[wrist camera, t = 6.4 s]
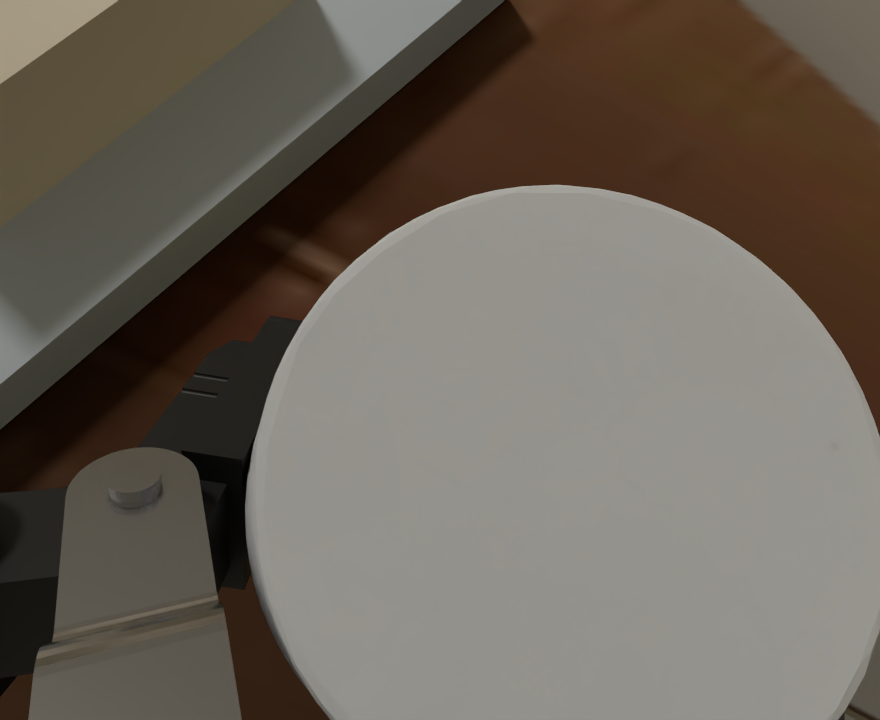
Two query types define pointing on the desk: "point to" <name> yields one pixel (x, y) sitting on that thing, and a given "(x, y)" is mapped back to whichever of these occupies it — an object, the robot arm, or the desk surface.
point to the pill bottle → (566, 477)
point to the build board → (168, 143)
